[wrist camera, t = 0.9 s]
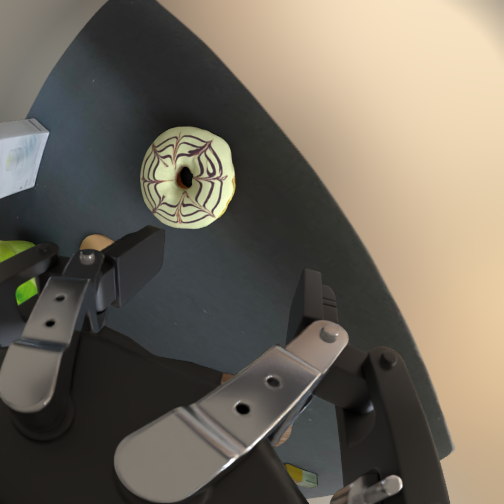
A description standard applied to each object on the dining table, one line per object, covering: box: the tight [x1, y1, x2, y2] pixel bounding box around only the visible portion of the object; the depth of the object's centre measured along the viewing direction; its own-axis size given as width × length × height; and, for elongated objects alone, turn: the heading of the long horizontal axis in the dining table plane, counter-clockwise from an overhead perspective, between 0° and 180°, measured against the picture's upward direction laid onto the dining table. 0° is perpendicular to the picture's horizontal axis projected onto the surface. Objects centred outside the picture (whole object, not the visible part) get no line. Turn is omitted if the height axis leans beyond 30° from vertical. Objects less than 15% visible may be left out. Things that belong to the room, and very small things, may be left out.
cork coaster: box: [80, 234, 114, 251], centre depth 36 cm, size 10×10×1 cm
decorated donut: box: [140, 127, 235, 229], centre depth 27 cm, size 10×11×4 cm
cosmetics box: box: [0, 118, 49, 198], centre depth 27 cm, size 10×6×10 cm, turn 144°
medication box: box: [284, 464, 318, 488], centre depth 49 cm, size 12×3×4 cm, turn 49°
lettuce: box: [0, 241, 38, 305], centre depth 34 cm, size 15×20×14 cm
